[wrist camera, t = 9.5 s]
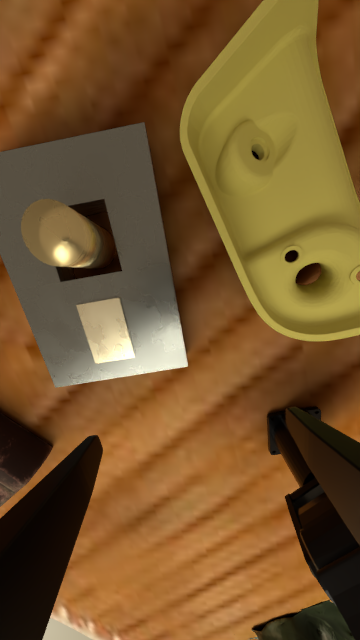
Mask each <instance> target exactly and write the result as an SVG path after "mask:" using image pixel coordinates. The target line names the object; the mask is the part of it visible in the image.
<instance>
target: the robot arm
mask: <svg viewBox="0 0 360 640" xmlns="http://www.w3.org/2000/svg"><path fill="white" fill-rule="evenodd" d="M267 425H268V444H269V452H270V453H271V455H277V454H281V455H282V456H283V458H284V460H285V462H286V463H287V465H288V467H289V469H290V470H291V472H292V474H293V476H294V477H295V479H296V481H297V483H298V484H299V486H300V488H299V489H297V490H296V491H294V492H293V493H291V494H288V495H286V496H285V499H286V502H287V505H288V509H289V512H290V515H291V518H292V521H293V524H294V527H295V530H296V533H297V536H298V539H299V542H300V545H301V548H302V551H303V554H304V557H305V560H306V562H307V564H308V565H309V568H310V570H311V572H312V574H313V575H314V577H315V578H317V580H318V582H319V583H320V585H321V587H322V588H323V590H324V591H325V593H326V594H327V595H328V597H329V598H330V599H331V601H332V602H333V603H334V604H335V605H336V606H337V608H338V609H339V611H340V613H341V615H342V616H343V618H344V620H345V622H346V624H347V626H348V628H349V629H350V631H351V633H352V635H353V637H354V639H355V640H360V443H359V442H357V441H356V440H354V439H352V438H350V437H348V436H347V435H345V434H343V433H341V432H340V431H338V430H336V429H334V428H333V427H331V426H329V425H327V424H326V423H324V422H322V421H321V410H320V409H319V408H318V407H310V408H303V409H299V408H297V407H288V408H286V411H283V412H276V413H270V414H268V416H267ZM102 453H103V448H102V445H101V442H100V439H99V437H98V435H93V436H89V437H87V438H86V439H85V440H84V441H83V442H82V443H81V444H80V445H79V446H77V447H76V448H75V449H74V450H73V451H72V452H71V453H70V454H69V455H68V456H67V457H66V458H65V459H64V460H63V461H61V462H60V463H59V464H58V465H57V466H56V467H55V468H54V469H53V470H52V471H51V472H50V473H49V474H48V475H46V476H45V477H44V478H43V479H42V480H41V481H40V482H39V483H38V484H37V485H36V486H35V487H34V488H33V489H32V490H30V491H29V492H28V493H27V494H26V495H25V496H24V497H23V498H22V499H21V500H20V501H19V502H18V503H17V504H15V505H14V506H13V507H12V508H11V509H10V510H9V511H8V512H7V513H6V514H5V515H4V516H3V517H2V518H0V640H42V639H43V636H44V633H45V630H46V627H47V624H48V621H49V619H50V616H51V613H52V610H53V607H54V604H55V601H56V598H57V595H58V592H59V589H60V586H61V583H62V581H63V578H64V575H65V572H66V569H67V566H68V563H69V560H70V557H71V554H72V551H73V548H74V545H75V542H76V540H77V537H78V534H79V531H80V528H81V525H82V522H83V519H84V516H85V513H86V510H87V507H88V504H89V502H90V498H91V495H92V492H93V489H94V485H95V481H96V477H97V473H98V469H99V465H100V461H101V457H102Z"/></svg>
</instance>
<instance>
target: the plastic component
mask: <svg viewBox="0 0 360 640" xmlns="http://www.w3.org/2000/svg"><path fill="white" fill-rule="evenodd" d="M317 15H318V0H263V1H262V3H261V4H260V5H259V6H258V7H257V9H256V10H255V11H254V12H253V14H252V15H251V16H250V17H249V19H248V20H247V21H246V22H245V23H244V25H243V26H242V27H241V28H240V30H239V31H238V32H237V33H236V35H235V36H234V37H233V38H232V39H231V41H230V42H229V43H228V44H227V46H226V47H225V48H224V49H223V51H222V52H221V53H220V54H219V55H218V57H217V58H216V59H215V60H214V62H213V63H212V64H211V65H210V67H209V68H208V69H207V70H206V71H205V73H204V74H203V75H202V76H201V78H200V79H199V80H198V81H197V82H196V84H195V85H194V87H193V88H192V90H191V92H190V93H189V95H188V97H187V100H186V102H185V105H184V108H183V111H182V116H181V121H180V142H181V146H182V150H183V152H184V155H185V157H186V159H187V161H188V164H189V166H190V168H191V171H192V173H193V175H194V177H195V180H196V182H197V184H198V186H199V189H200V191H201V193H202V195H203V198H204V200H205V202H206V204H207V207H208V209H209V211H210V213H211V216H212V218H213V220H214V222H215V225H216V227H217V229H218V231H219V234H220V236H221V238H222V240H223V243H224V245H225V247H226V249H227V252H228V254H229V256H230V258H231V261H232V263H233V265H234V268H235V270H236V272H237V274H238V277H239V279H240V281H241V283H242V285H243V287H244V289H245V291H246V294H247V296H248V298H249V299H250V301H251V303H252V305H253V307H254V308H255V310H256V311H257V313H258V314H259V316H260V317H261V318H262V319H263V320H264V321H265V322H266V323H267V324H268V325H269V326H270V327H271V328H273V329H274V330H276V331H277V332H279V333H281V334H283V335H285V336H288V337H291V338H294V339H299V340H304V341H330V340H337V339H343V338H347V337H352V336H357V335H360V280H357V279H356V275H357V273H358V272H359V271H360V202H359V199H358V197H357V194H356V191H355V188H354V185H353V182H352V179H351V176H350V173H349V169H348V166H347V163H346V159H345V156H344V153H343V149H342V146H341V143H340V139H339V136H338V133H337V129H336V126H335V123H334V120H333V116H332V113H331V110H330V106H329V103H328V100H327V96H326V93H325V90H324V86H323V83H322V79H321V75H320V70H319V64H318V57H317V48H316V30H317ZM252 151H254V152H256V153H257V155H258V156H259V160H258V159H255V157H254V156H253V155H252ZM290 250H296V251H297V252H298V257H297V258H296V260H295V261H292V262H286V261H285V255H286V253H287V252H289V251H290ZM311 263H319V264H320V266H321V274H320V276H319V278H318V279H317V280H316V281H315V282H313V283H311V284H308V285H299V284H296V282H295V280H296V276H297V273H298V272H299V271H300V270H301V269H302V268H303V267H305V266H306V265H308V264H311Z"/></svg>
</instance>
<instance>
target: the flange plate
mask: <svg viewBox="0 0 360 640" xmlns="http://www.w3.org/2000/svg"><path fill="white" fill-rule="evenodd" d="M41 199H53V200H57V201H59V202H62V203H63V204H65V205H67V206H68V207H70V208H72V209H73V210H75V211H76V212H78V213H80V214H81V215H83V216H85V215H91V214H96V213H101V212H106V211H107V212H108V216H109V220H110V224H111V228H112V232H113V236H114V240H115V244H116V248H117V252H118V256H119V260H120V264H121V268H122V271H120V272H114V273H109V274H103V275H97V276H92V277H86V278H81V279H76V278H75V275H74V272H73V269H72V267H59V266H51V265H48V264H46V263H43V262H42V261H40V260H39V259H37V258H36V257H35V256H34V255H33V254H32V253H31V252H30V251H29V249H28V248H27V246H26V244H25V242H24V240H23V237H22V232H21V221H22V217H23V214H24V212H25V210H26V209H27V208H28V207H29V206H30V205H31V204H32V203H33V202H35V201H38V200H41ZM0 254H1V257H2V259H3V262H4V264H5V267H6V269H7V271H8V274H9V276H10V279H11V281H12V283H13V286H14V288H15V291H16V293H17V296H18V298H19V300H20V303H21V305H22V308H23V310H24V312H25V315H26V317H27V320H28V322H29V325H30V327H31V329H32V332H33V334H34V337H35V339H36V342H37V344H38V346H39V349H40V351H41V354H42V356H43V358H44V361H45V363H46V366H47V368H48V371H49V373H50V375H51V378H52V380H53V383H54V385H55V387H62V386H68V385H75V384H81V383H87V382H93V381H100V380H106V379H112V378H118V377H125V376H131V375H137V374H143V373H150V372H156V371H162V370H168V369H175V368H181V367H187V366H188V362H187V354H186V348H185V342H184V337H183V331H182V326H181V320H180V314H179V309H178V303H177V297H176V292H175V286H174V280H173V275H172V269H171V263H170V258H169V252H168V247H167V241H166V235H165V230H164V224H163V218H162V213H161V207H160V201H159V196H158V190H157V184H156V179H155V173H154V168H153V162H152V156H151V151H150V145H149V141H148V136H147V132H146V127H145V123H144V122H143V123H138V124H133V125H128V126H124V127H119V128H114V129H109V130H104V131H100V132H95V133H90V134H85V135H80V136H75V137H71V138H66V139H61V140H56V141H51V142H47V143H42V144H37V145H32V146H27V147H22V148H18V149H13V150H8V151H3V152H0Z"/></svg>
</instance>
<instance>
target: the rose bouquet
mask: <svg viewBox="0 0 360 640" xmlns="http://www.w3.org/2000/svg"><path fill="white" fill-rule="evenodd" d="M301 610H302V612H299V613H298V614H297V615H295V616H294V617H290V618H282V619H277V620H274V621H272V622H269V623H267V624H266V625H265V627H264V628H263V630H261V631H254V630H252V631H253V632H255V633H256V635H257V637H255V639H258V640H355V639H354V637H353V635H352V633H351V631H350V629H349V628H348V626H347V624H346V622H345V620H344V618H343V616H342V615H341V613H340V611H339V609H338V608H337V606H336V605H335V604H334V603H331V602H330V600H328V601H325V602H322V603H320V604H318V605H315V606H312V607H309V608H306V609H301ZM234 635H235V634H234ZM250 639H253V638H250ZM248 640H249V639H248Z"/></svg>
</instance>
